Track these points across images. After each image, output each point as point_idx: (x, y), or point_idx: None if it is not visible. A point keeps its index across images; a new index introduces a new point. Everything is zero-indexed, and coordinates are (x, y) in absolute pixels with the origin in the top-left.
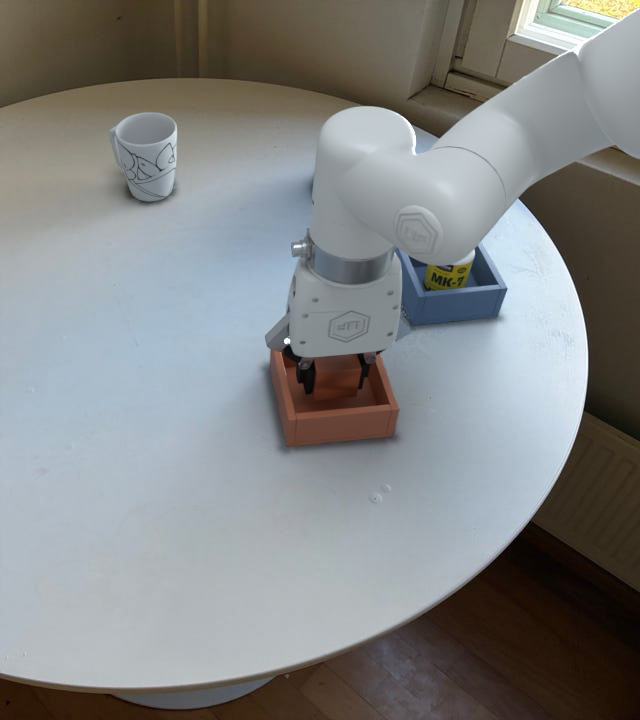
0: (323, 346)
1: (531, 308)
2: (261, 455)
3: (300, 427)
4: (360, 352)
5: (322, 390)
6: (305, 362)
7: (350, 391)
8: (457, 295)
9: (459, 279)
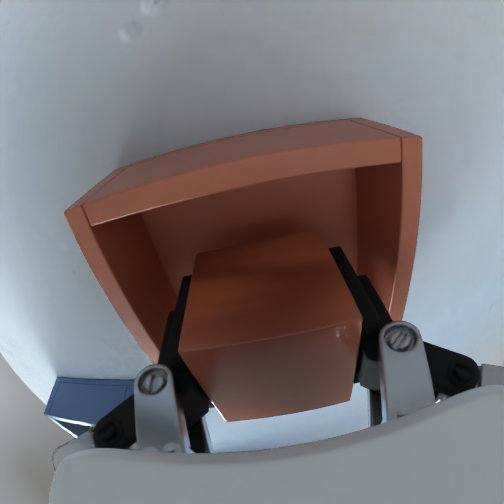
0: (435, 497)
1: (38, 379)
2: (409, 101)
3: (367, 129)
4: (182, 470)
5: (306, 257)
6: (407, 351)
7: (213, 264)
8: (84, 418)
9: (93, 430)
